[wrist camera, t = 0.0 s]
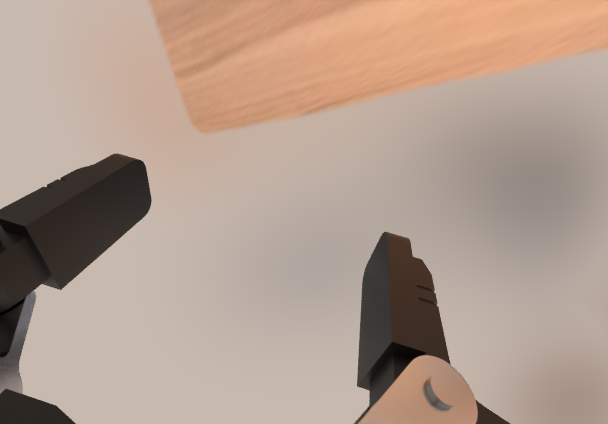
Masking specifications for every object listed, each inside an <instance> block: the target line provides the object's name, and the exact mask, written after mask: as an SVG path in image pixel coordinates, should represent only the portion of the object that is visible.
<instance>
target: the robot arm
mask: <svg viewBox="0 0 608 424" xmlns="http://www.w3.org/2000/svg"><path fill="white" fill-rule="evenodd" d="M150 206H151V194H150V188H149V183H148V177H147V171H146V166H145V164H144V162H143V161H141V160H138V159H135V158H131V157H128V156H124V155H121V154H113V155H111V156H109V157H107V158H105V159H103V160H102V161H100V162H98V163H96V164H94V165H91V166H87V167H83V168H80V169H77V170H75V171H73V172H71V173H69V174H67V175H65V176H63V177H61V180H56V181H54V182H52V183H50V184H48V185H47V187H42V188H40V189H38V190H37V191H35V192H33V193H31V194H29V195H27V196H25V197H23V198H21V199H19V200H18V201H15V202H13V203H12V204H10V205H8V206H6V207H4V208H2V209H0V424H75V423H74V422H73V421H72V420H71V419H70V418H69V417H68V416H67V415H66V414H65V413H63V412H62V411H61V410H60V409H59V408H58V407H57V406H55V405H52V404H49V403H47V402H43V401H41V400H37V399H35V398H32V397H29V396H26V395H23V394H22V380H21V376H20V373H19V360H20V356H21V353H22V349H23V345H24V341H25V338H26V334H27V331H28V327H29V323H30V319H31V316H32V312H33V308H34V305H35V301H36V293H35V291H34V290H35V289H36V288H37V287H38V286H39V285H41V284H44V285H47V286H50V287H54V288H57V289H60V290H61V289H62V288H63V287H65V286H66V285H67V284H68V283H69V282H70V281H72V280H73V279H74V278H75V277H76V276H77V275H78V274H79V273H81V272H82V271H83V270H84V269H85V268H86V267H87V266H88V265H90V264H91V263H92V262H93V261H94V260H95V259H97V258H98V257H99V256H100V255H101V254H102V253H103V252H105V251H106V250H107V249H108V248H109V247H110V246H111V245H113V244H114V243H115V242H116V241H117V240H118V239H119V238H121V237H122V236H123V235H124V234H125V233H126V232H127V231H128V230H130V229H131V228H132V227H133V226H134V225H135V224H136V223H138V222H139V221H140V220H141V219H142V218H143V217H144V216H145V215H146V214H147V213H148V211H149V209H150ZM434 290H435V289H434V285H433V280H432V275H431V273H430V272H429V270H428V268H427V267H426V265H425V264H424V262H423V261H422V260H421V259H418V258H415V257H413V256H412V249H411V243H410V240H409V239H408V238H405V237H402V236H398V235H395V234H391V233H388V232H384V233H383V234H382V236H381V237H380V239H379V242H378V243H377V245H376V247H375V249H374V252H373V254H372V255H371V258H370V260H369V261H368V264H367V266H366V268H365V272H364V276H363V283H362V301H361V302H362V303H361V321H360V322H361V323H360V340H359V359H358V379H357V380H358V381H357V386H358V387H361V388H364V389H367V390H370V404H369V406H368V407H367V409H366V410H365V411H364V412H363V413H362V414H361V416H360V417H359V418H358V419H357V420H356V422H355V423H354V424H510V423H508V422H507V421H505V420H504V419H502V418H501V417H499V416H498V415H496V414H495V413H493V412H492V411H490V410H489V409H487V408H486V407H484V406H483V405H482V404H480V403H479V402H478V401H477V400H475V398H474V395H473V393H472V390H471V389H470V387H469V385H468V384H467V382H466V381H465V379H464V378H463V377H462V375H461V374H460V373H459V372H458V371H457V370H456V369H455V368H454V367H452V366H451V364H450V360H449V356H448V351H447V347H446V342H445V337H444V332H443V327H442V323H441V318H440V313H439V308H438V307H437V299H436V294H435V293H434Z"/></svg>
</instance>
